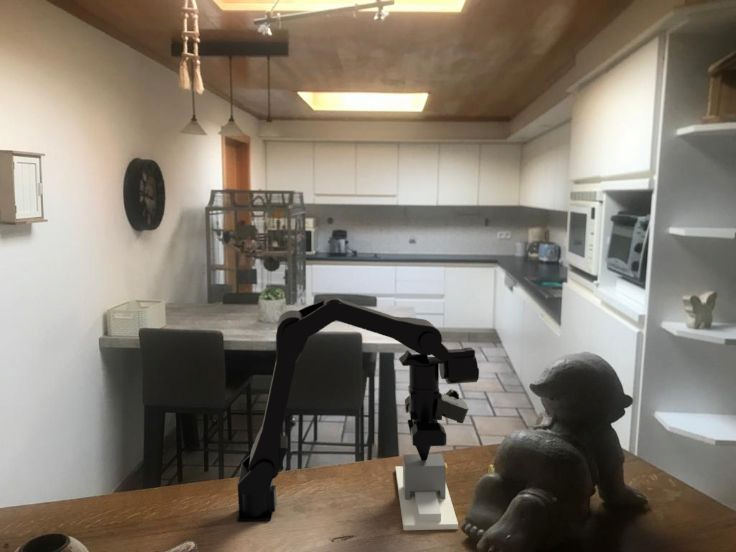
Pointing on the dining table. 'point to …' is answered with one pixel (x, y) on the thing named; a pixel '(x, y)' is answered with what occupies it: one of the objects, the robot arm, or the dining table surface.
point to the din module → (424, 474)
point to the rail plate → (412, 510)
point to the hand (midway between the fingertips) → (423, 459)
